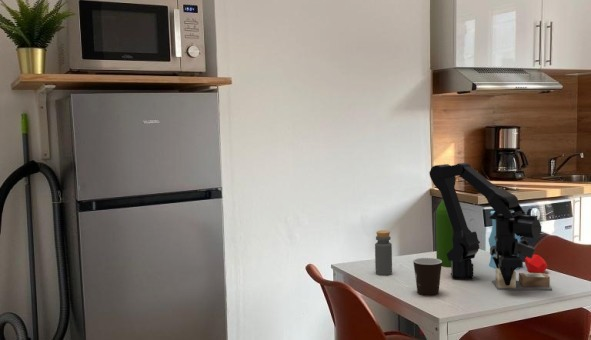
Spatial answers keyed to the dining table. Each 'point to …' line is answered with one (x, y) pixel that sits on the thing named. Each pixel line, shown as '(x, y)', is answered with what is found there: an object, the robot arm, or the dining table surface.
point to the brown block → (534, 279)
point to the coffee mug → (427, 275)
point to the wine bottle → (443, 235)
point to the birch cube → (501, 282)
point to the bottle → (383, 253)
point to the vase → (493, 242)
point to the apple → (535, 264)
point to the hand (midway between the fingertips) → (505, 282)
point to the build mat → (521, 287)
